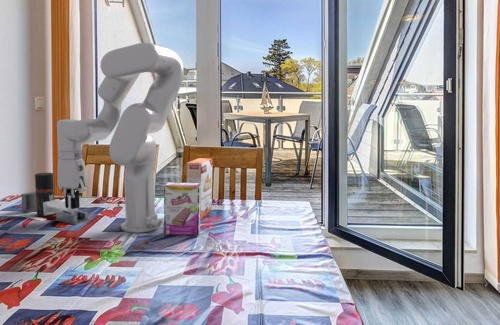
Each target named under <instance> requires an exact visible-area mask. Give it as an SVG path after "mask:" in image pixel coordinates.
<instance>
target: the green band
mask: <svg viewBox="0 0 500 325" xmlns="http://www.w3.org/2000/svg"><path fill="white" fill-rule="evenodd" d="M20 217H21V218H27V219H31V218H33V217H36V216H34V215H30V214H27V213H24V214H21V215H20ZM31 220H32V219H31Z"/></svg>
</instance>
